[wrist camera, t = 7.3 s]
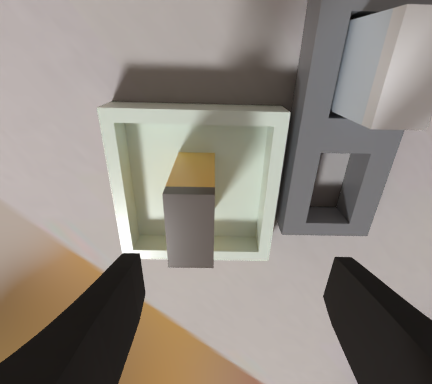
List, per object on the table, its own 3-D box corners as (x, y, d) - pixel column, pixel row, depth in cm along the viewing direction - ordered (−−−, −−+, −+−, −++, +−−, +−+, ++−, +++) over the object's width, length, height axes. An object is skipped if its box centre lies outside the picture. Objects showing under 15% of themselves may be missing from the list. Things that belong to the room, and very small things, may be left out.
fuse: (379, 25, 15) (474, 6, 9) (358, 107, 17) (426, 130, 11) (336, 24, 15) (407, 4, 9) (320, 106, 17) (370, 129, 11)
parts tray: (281, 105, 16) (290, 112, 14) (263, 241, 21) (268, 260, 19) (111, 101, 16) (96, 107, 14) (132, 239, 21) (123, 258, 19)
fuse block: (421, -3, 14) (454, -13, 12) (352, 218, 20) (367, 236, 18) (309, -7, 14) (324, -17, 12) (275, 217, 20) (281, 234, 18)
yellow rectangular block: (214, 152, 17) (214, 194, 12) (213, 209, 19) (213, 267, 14) (178, 152, 17) (162, 193, 12) (181, 209, 19) (168, 267, 14)
